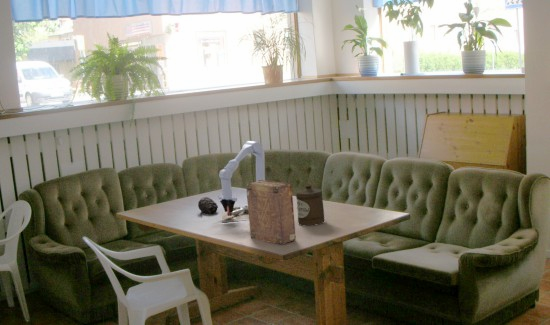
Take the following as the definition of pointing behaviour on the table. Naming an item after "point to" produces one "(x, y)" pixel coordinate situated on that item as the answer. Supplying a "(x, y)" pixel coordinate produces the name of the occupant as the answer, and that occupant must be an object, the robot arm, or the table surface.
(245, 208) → the lever
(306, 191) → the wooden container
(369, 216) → the table surface
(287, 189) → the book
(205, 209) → the pine cone
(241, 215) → the base
